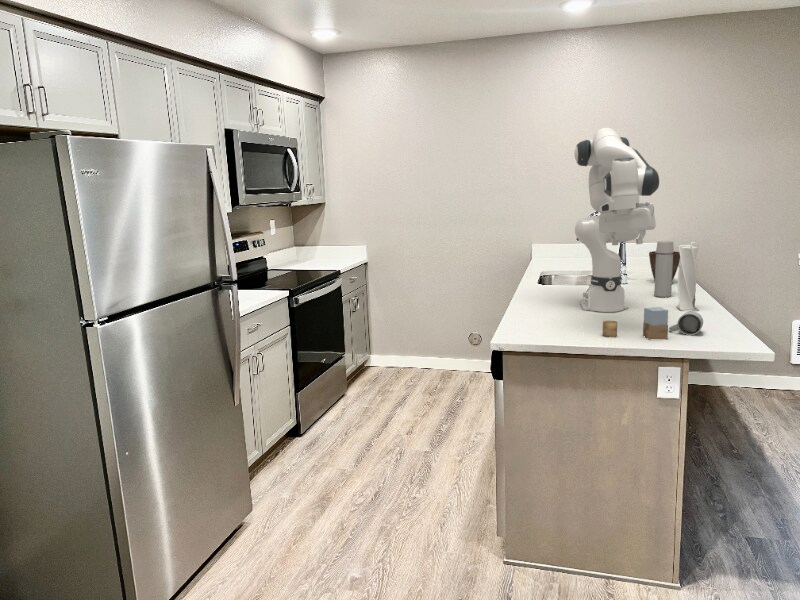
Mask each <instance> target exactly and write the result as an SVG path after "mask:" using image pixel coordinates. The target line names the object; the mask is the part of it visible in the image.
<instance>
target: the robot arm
mask: <svg viewBox="0 0 800 600" xmlns="http://www.w3.org/2000/svg"><path fill="white" fill-rule="evenodd" d="M574 159H575V161H576V164H577V165H578V166H580V167H588V166H590V169H589V172H588V191H589V193H588V195H589V202H590V203H589V205H590V206H591V207H592V209H593V210H594V211H596V212H598V213H600V214H599V215H592V216H587V217H582V218H579V220H578V221H577V222H576V224H575V227H574V234H575V236H576V238H577V240H579V242H581V243H582V244H583V245H584V246H585V247H586V248H587V249H588V251H589V253H590V256H591V257H590V258H591V262H592V263H591V266H592V269H591V270H592V275H591V276H590V277H591V278H590V285H589V286H588V288H587V289H586V291H585V292H583V293H582V298H583V299H585V300H580V306H581V309H582V310H584V311H593V312H603V313H612V312H613V313H614V312H622V311H623V310H626V309H629V305H627V304H626V301H625V300H626V298H625V297H626V295H625V293H626V292H625V289H624V287H622V280H623V279H622V275H621V265H622V264H621V263H622V259H621V257H620V255H619V254H618V253H617V252H614V251H613V250H610V249H608V247H607V243H611V246H619V243H626V242H630V241H635V244H636V245H642V244H643V242H644V241H643V239H644V237H645V236H646V234H647V233H646V231H652V230H655V228H656V225H657V223H656V217H655V206H654V205H653V204H652V203H650V201H649V202H648V201H647V202H640V196H643V197H644V196H645V197H646V196H647V197H648V196H650V197H651V195H653V194H655V192H656V191H658V189H659V187H660V177H659V172H658V171H657V170H656V169H655V168H654V167H653V166H650V163H648V162H647V160H646V159H645V158H644V157H643V155H641V153H640V152H639V151H638V150H637V149H635V148H632V147H631V145H630V142H629V139H628V138H627V137H622V136H620V134H618V132H617V131H616V130H615V129H613V128H611V127H602V128H600V129H598V130H597V131H596V132H595V133H594V135H593V139H585V140H582V141H579V142H578V143H577V144H576V146H575V149H574ZM643 245H644V244H643Z"/></svg>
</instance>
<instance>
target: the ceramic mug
mask: <svg viewBox="0 0 800 600" xmlns="http://www.w3.org/2000/svg"><path fill="white" fill-rule="evenodd" d="M703 325H704V319H703V317H702V315H701V314H700V313H698V311H685V313H683V314H682V315H681V316H680V317H679V318H678V320H677V322H676V323H675V324H673V325H671V326H668V331H671V332H672V333H673V332H677V331H679V332H680V333H681V334H683V335H685V334H686V336H694V335H697V334H698V333H700V331H701V330H702V328H703ZM671 332H670V333H671Z"/></svg>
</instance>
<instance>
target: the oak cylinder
mask: <svg viewBox="0 0 800 600" xmlns="http://www.w3.org/2000/svg"><path fill="white" fill-rule="evenodd" d="M616 336H617V337H618V321H616V320H610V319H609V320H603V321H602V337H604V338H609V337H614V338H617V337H616Z"/></svg>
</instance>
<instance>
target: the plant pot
mask: <svg viewBox="0 0 800 600" xmlns="http://www.w3.org/2000/svg"><path fill="white" fill-rule="evenodd" d="M655 252H657V251H656V250H655V251H649V252H648V257H649V266H650V269H651V273H652V278H653V280H654V281H655V267H656V254H657V253H655ZM672 254H673V268H672V282H674V279H675V277H676V274H677V270H678V269H679V266H680V262H681V259H680V252H679V251H675V250H674V251H673V253H672Z"/></svg>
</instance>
